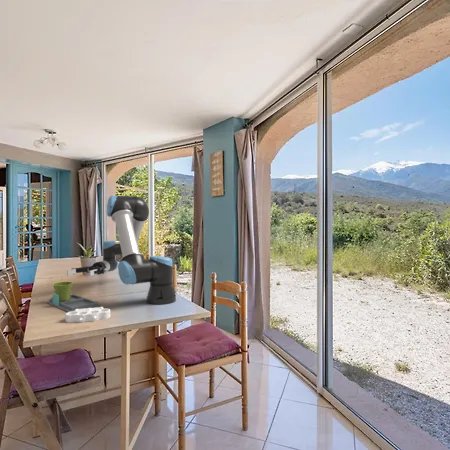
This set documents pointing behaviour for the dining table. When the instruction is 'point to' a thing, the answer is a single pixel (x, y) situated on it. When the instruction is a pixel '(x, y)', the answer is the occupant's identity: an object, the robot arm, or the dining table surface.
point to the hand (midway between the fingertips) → (78, 273)
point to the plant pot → (63, 290)
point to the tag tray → (72, 303)
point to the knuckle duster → (87, 314)
